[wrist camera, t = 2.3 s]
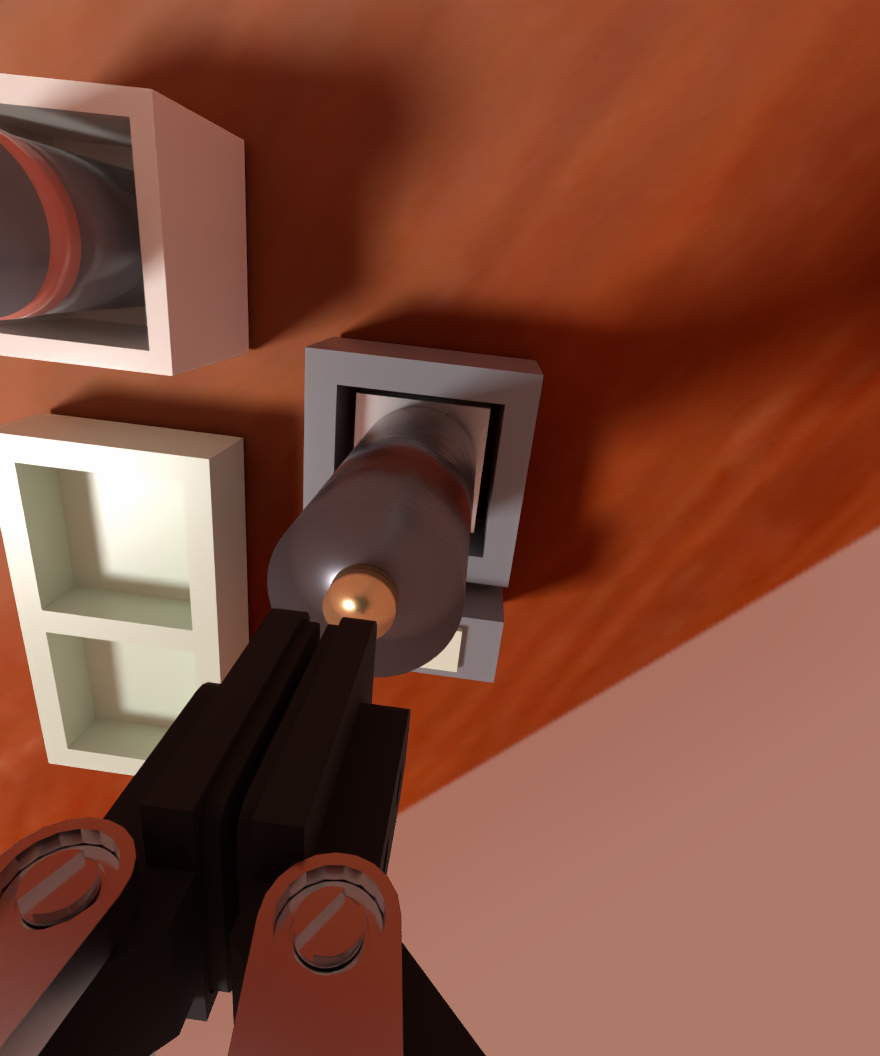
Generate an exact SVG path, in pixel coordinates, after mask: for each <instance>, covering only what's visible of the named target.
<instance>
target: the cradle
mask: <svg viewBox="0 0 880 1056" xmlns="http://www.w3.org/2000/svg"><path fill="white" fill-rule="evenodd" d="M543 377H544V375H543V373H542V371H541V369H540V367H539V365H538V363H537V361H536V360H529V359H521V358H512V357H504V356H495V355H486V354H478V353H469V352H461V351H452V350H443V349H435V348H426V347H418V346H409V345H401V344H392V343H383V342H375V341H366V340H358V339H349V338H340V337H332V338H329V339H326V340H324V341H321V342H318V343H315V344H313V345H310V346H307V347H305V407H304V482H303V510H304V509H305V507H306V506H307V505H308V504H309V503H310V501H311V500H312V499H313V498H314V497H315V495H316V494H317V493H318V492H319V490H320V489H321V488H322V487H323V486H324V484H325V483H326V482H327V481H328V479H329V478H330V477H331V476H332V475H333V473H334V472H335V471H336V470H337V468H338V467H339V466H340V465H341V464H342V462H343V461H344V460H345V459H346V457H347V456H348V455H349V454H350V453H351V451H352V450H353V449H354V435H355V414H356V393H357V392H358V391H359V387H361V388H370V389H378V390H386V391H395V392H403V393H411V394H420V395H428V396H437V397H445V398H453V399H462V400H470V401H478V402H487V403H495V404H501V407H500V414H499V421H498V428H497V435H496V442H495V449H494V456H493V463H492V470H491V477H490V484H489V491H488V498H487V505H486V512H485V519H478V518H476V520H475V527H474V533H470V544H469V555H468V566H467V577H466V588H465V599H464V609H463V614H462V618H461V621H460V624H459V627H458V629H457V631H456V633H455V635H454V637H453V638H452V640H451V641H450V643H449V644H448V645H447V646H446V648H445V649H444V650H443V651H442V652H441V653H440V654H439V655H438V656H436V657H435V658H434V659H432V660H431V661H430V662H428V663H427V664H425V665H423V666H421V667H419V668H417V669H415V670H412V672H419V673H427V674H434V675H441V676H449V677H456V678H463V679H471V680H478V681H485V682H493V683H494V677H495V671H496V666H497V660H498V654H499V648H500V642H501V636H502V630H503V624H504V613H503V587H508V585H509V579H510V573H511V567H512V561H513V555H514V549H515V543H516V537H517V531H518V525H519V519H520V513H521V507H522V502H523V496H524V490H525V484H526V478H527V472H528V466H529V460H530V454H531V448H532V442H533V436H534V430H535V424H536V418H537V412H538V406H539V400H540V394H541V388H542V382H543Z"/></svg>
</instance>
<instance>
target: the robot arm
mask: <svg viewBox="0 0 880 1056" xmlns="http://www.w3.org/2000/svg"><path fill="white" fill-rule="evenodd" d="M376 637H377V622H376V621H372V620H364V619H357V618H349V617H342V619H341V620H340V623H339V625H333V624H328V625H327V627H326V629H325V631H324V633H323V635H322V637H321V639H320V624H319V623H318V622H311V621H310V617H309V614H308V612H303V611H295V610H288V609H280V608H273V609H272V610H271V611H270V612H269V614H268V615H267V617H266V618H265V619H264V621H263V622H262V624H261V625H260V627H259V628H258V630H257V631H256V633H255V634H254V636H253V637H252V639H251V640H250V642H249V643H248V645H247V646H246V647H245V649H244V650H243V652H242V653H241V655H240V656H239V658H238V659H237V661H236V662H235V664H234V665H233V667H232V668H231V670H230V671H229V673H228V674H227V675H226V677H225V678H224V680H223V681H222V683H221V684H219V683H212V682H207V683H204V684H202V685H201V686H200V687H199V688H198V689H197V691H196V692H195V693H194V695H193V696H192V697H191V699H190V700H189V702H188V703H187V704H186V706H185V707H184V708H183V710H182V711H181V713H180V714H179V715H178V717H177V718H176V719H175V721H174V722H173V723H172V725H171V726H170V728H169V729H168V730H167V732H166V733H165V734H164V736H163V737H162V739H161V740H160V741H159V743H158V744H157V745H156V747H155V748H154V750H153V751H152V752H151V754H150V755H149V756H148V758H147V759H146V761H145V762H144V763H143V765H142V766H141V767H140V769H139V770H138V772H137V773H136V774H135V776H134V777H133V778H132V780H131V781H130V783H129V784H128V785H127V787H126V788H125V789H124V791H123V792H122V794H121V795H120V796H119V798H118V799H117V800H116V802H115V803H114V805H113V806H112V807H111V809H110V810H109V811H108V813H107V814H106V816H105V817H104V818H103V819H98V818H91V817H88V818H79V819H70V820H65V821H62V822H59V823H56V824H53V825H50V826H47V827H43V828H42V829H40V830H38V831H36V832H34V833H32V834H30V835H28V836H26V837H25V838H23V839H21V840H19V841H18V842H17V843H15V844H14V845H13V846H12V847H10V848H9V849H8V850H6V851H5V852H4V853H3V854H1V855H0V1056H156V1051H157V1050H158V1049H160V1048H161V1047H163V1046H164V1045H165V1044H167V1043H168V1042H170V1041H171V1040H173V1039H174V1038H176V1037H177V1036H178V1035H179V1034H180V1032H181V1029H182V1027H183V1024H184V1022H185V1020H186V1018H188V1019H195V1020H201V1021H207V1019H208V1017H209V1014H210V1012H211V1009H212V1006H213V1004H214V1001H215V999H216V996H217V993H218V991H222V992H231V991H232V993H233V1016H234V1028H233V1033H232V1038H231V1042H230V1047H229V1052H228V1056H486V1055H485V1054H484V1053H483V1051H482V1050H481V1049H480V1048H479V1046H478V1045H477V1043H476V1042H475V1041H474V1039H473V1038H472V1037H471V1035H470V1034H469V1032H468V1031H467V1030H466V1028H465V1027H464V1026H463V1024H462V1023H461V1022H460V1020H459V1019H458V1018H457V1016H456V1015H455V1014H454V1012H453V1011H452V1009H451V1008H450V1007H449V1005H448V1004H447V1003H446V1001H445V1000H444V999H443V997H442V996H441V995H440V993H439V992H438V991H437V989H436V988H435V986H434V985H433V984H432V982H431V981H430V980H429V978H428V977H427V976H426V974H425V973H424V972H423V970H422V969H421V967H420V966H419V965H418V964H417V962H416V961H415V959H414V958H413V957H412V955H411V954H410V953H409V951H408V950H407V949H406V947H405V946H404V944H403V943H402V938H401V937H402V935H401V933H402V932H401V911H400V905H399V900H398V895H397V893H396V891H395V889H394V887H393V885H392V883H391V881H390V880H389V878H388V876H386V875H387V869H388V863H389V858H390V852H391V847H392V841H393V835H394V829H395V823H396V818H397V812H398V806H399V800H400V794H401V788H402V781H403V774H404V766H405V759H406V750H407V741H408V732H409V722H410V709H404V708H397V707H390V706H382V705H375V704H372V690H373V677H374V664H375V650H376Z"/></svg>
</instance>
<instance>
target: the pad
mask: <svg viewBox="0 0 880 1056" xmlns="http://www.w3.org/2000/svg"><path fill="white" fill-rule="evenodd" d="M406 407H425V408H430V409H433V410H437V411H439V412H441V413H443V414H445V415H447V416H449V417H450V418H452V419H453V420H454V421H455V422H457V423H458V424H459V425H460V426H461V428H462V429H463V430H464V431H465V433H466V434H467V435H468V437H469V439H470V441H471V443H472V446H473V448H474V452H475V456H476V477H475V488H474V500H473V511H472V522H471V533H474V527H475V520H476V512H477V505H478V498H479V490H480V483H481V476H482V468H483V461H484V454H485V446H486V439H487V432H488V424H489V417H490V410H491V403H487V402H478V401H470V400H462V399H453V398H445V397H437V396H428V395H420V394H411V393H403V392H395V391H386V390H378V389H370V388H362V389H361V390H359V391H358V392H357V393H356V414H355V435H354V448H355V447H356V445H357V444H358V443H359V442H360V440H361V439H362V438H363V437H364V436H365V434H366V433H367V432H368V431H369V429H370V428H371V427H372V426H373V425H374V424H375V423H376V422H377V421H378V420H379V419H380V418H382V417H383V416H385V415H386V414H388V413H390V412H392V411H395V410H398V409H401V408H406Z"/></svg>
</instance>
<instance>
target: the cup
mask: <svg viewBox="0 0 880 1056" xmlns="http://www.w3.org/2000/svg"><path fill="white" fill-rule="evenodd" d="M246 353H249V332H248V288H247V244H246V200H245V156H244V140H243V139H241V138H239V137H238V136H236V135H234V134H232V133H230V132H229V131H227V130H225V129H223V128H221V127H220V126H218V125H216V124H214V123H212V122H211V121H209V120H207V119H205V118H203V117H202V116H200V115H198V114H196V113H194V112H193V111H191V110H189V109H187V108H185V107H184V106H182V105H180V104H178V103H176V102H174V101H173V100H171V99H169V98H167V97H165V96H164V95H162V94H160V93H158V92H156V91H155V90H153V89H148V88H138V87H128V86H118V85H109V84H99V83H89V82H79V81H70V80H60V79H50V78H40V77H31V76H21V75H11V74H1V73H0V355H2V356H11V357H19V358H27V359H36V360H44V361H52V362H61V363H69V364H77V365H86V366H94V367H102V368H111V369H119V370H127V371H136V372H144V373H152V374H161V375H169V376H174V375H177V374H181V373H184V372H187V371H191V370H194V369H197V368H200V367H204V366H207V365H210V364H214V363H217V362H220V361H223V360H227V359H230V358H233V357H237V356H240V355H243V354H246Z"/></svg>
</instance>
